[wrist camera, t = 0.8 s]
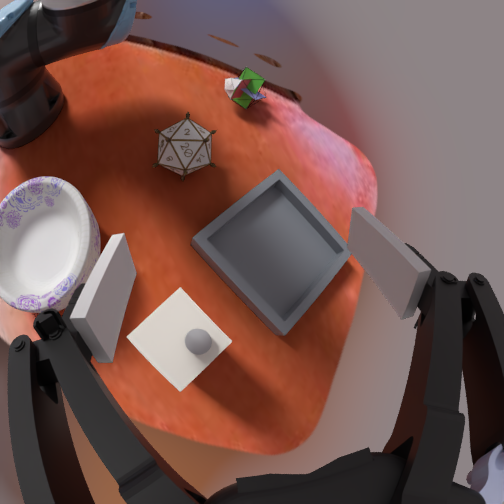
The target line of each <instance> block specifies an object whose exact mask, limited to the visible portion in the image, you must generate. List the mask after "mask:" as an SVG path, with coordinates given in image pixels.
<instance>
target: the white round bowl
mask: <svg viewBox="0 0 504 504" xmlns="http://www.w3.org/2000/svg"><path fill="white" fill-rule="evenodd" d="M100 243H101V242H100V232H99V226H98V223H97V221H96V219H95V217H94V215H93V213H92V211H91V209H90V207H89V206H88V204H87V202H86V201H85V199H84V198H83V196H82V195H81V193H80V192H79V191H78V190H77V189H76V188H75V187H74V186H73V185H71V184H70V183H68V182H67V181H65V180H62V179H60V178H57V177H51V176H43V177H37V178H33V179H30V180H28V181H26V182H24V183H22V184H20V185H19V186H17V187H16V188H15V189H14V190H12V191H11V192H10V193H9V194H8V195H7V196H6V197H5V198H4V200H3V201H2V202H1V204H0V297H1V298H2V299H3V300H4V301H5V302H6V303H7V304H9V305H10V306H12V307H14V308H16V309H18V310H21V311H25V312H33V313H41V312H42V311H44V310H46V309H50V308H53V309H56V310H57V311H60V310H62V309H65V308H66V307H67V305H68V303H69V301H70V299H71V297H72V295H73V293H74V291H75V290H76V289H77V288H78V287H79V285H80V284H82V283H86V282H87V280H88V278H89V276H90V274H91V272H92V270H93V269H94V267H95V265H96V263H97V261H98V259H99V257H100Z"/></svg>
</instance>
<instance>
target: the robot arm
mask: <svg viewBox="0 0 504 504" xmlns="http://www.w3.org/2000/svg"><path fill="white" fill-rule="evenodd" d="M136 4H137V0H38V1H36V2H33V0H15V1H13V2H12V3H10V4H8V5H7V6H5V7H4V8H2V9H1V10H0V146H2V147H4V148H16V147H20V146H22V145H25V144H27V143H29V142H31V141H32V140H34V139H35V138H37V137H38V136H39V135H41V134H42V133H43V132H44V131H45V130H46V129H47V128H48V127H49V126H50V125H51V124H52V123H53V122H54V121H55V119H56V118H57V116H58V115H59V113H60V111H61V109H62V106H63V103H64V96H63V92H62V89H61V86H60V84H59V83H58V82H57V81H56V80H55V78H54V77H53V76H52V75H51V74H50V73H49V71H48V70H47V69H46V67H45V65H48V64H50V63H53V62H56V61H59V60H62V59H65V58H68V57H72V56H75V55H79V54H82V53H86V52H90V51H94V50H99V49H103V48H105V47H107V46H111V45H114V44H118V43H121V42H122V41H124V40H125V39H126V38H127V37H128V35H129V33H130V31H131V28H132V25H133V21H134V17H135V12H136ZM347 248H348V249H349V251H350V252H351V253H352V254H353V256H354V257H355V258H356V260H357V261H358V262H359V263H360V265H361V266H362V267H363V268H364V270H365V271H366V272H367V274H368V275H369V276H370V278H371V279H372V280H373V281H374V283H375V284H376V285H377V287H378V288H379V289H380V291H381V292H382V294H383V295H384V296H385V298H386V299H387V300H388V302H389V303H390V304H391V306H392V307H393V309H394V310H395V311H396V313H397V314H398V316H399V317H400V319H406V318H409V317H412V316H413V315H414V313H415V311H416V308H417V307H418V308H419V309H420V310H421V313H420V315H419V318H418V320H417V322H416V324H415V326H414V328H415V329H416V327H417V333H416V339H415V346H414V351H413V356H412V362H411V366H410V371H409V376H408V380H407V384H406V388H405V393H404V396H403V400H402V404H401V407H400V411H399V414H398V417H397V421H396V424H395V427H394V430H393V433H392V435H391V437H390V439H389V441H388V442H387V444H386V446H385V447H384V449H383V451H382V452H370V449H369V448H365V449H363V450H360V451H357V452H354V453H351V454H348V455H345V456H342V457H339V458H337V459H336V460H334V461H332V462H330V463H329V464H327V465H325V466H323V467H321V468H319V469H317V470H315V471H313V472H311V473H309V474H266V475H259V476H252V477H243V478H236V481H237V483H235V484H232V485H230V486H227V487H225V488H223V489H221V490H220V491H218V492H216V493H215V494H213V495H212V496H211V497H210V498H209V499H207V498H205V497H204V496H203V495H202V494H201V493H199V492H198V491H197V490H196V489H195V488H194V487H193V486H191V485H190V484H189V483H188V482H186V481H185V480H184V479H183V478H182V477H181V476H180V475H179V474H178V473H177V472H176V471H174V469H173V468H172V467H171V466H170V465H169V464H168V463H167V462H166V461H165V460H164V459H163V458H162V457H161V456H160V455H159V453H158V452H157V451H156V450H155V449H154V448H153V447H152V446H151V444H150V443H149V442H148V441H147V440H146V439H145V437H144V436H143V435H142V434H141V433H140V431H139V430H138V429H137V428H136V426H135V425H134V424H133V423H132V421H131V420H130V419H129V418H128V416H127V415H126V414H125V412H124V411H123V410H122V408H121V407H120V405H119V404H118V403H117V401H116V400H115V398H114V397H113V395H112V394H111V393H110V391H109V390H108V388H107V387H106V385H105V384H104V382H103V380H102V379H101V377H100V376H99V374H98V373H97V371H96V369H95V368H94V366H93V365H92V363H91V362H90V361H91V357H92V355H93V356H94V358H95V359H96V361H97V362H98V363H113V358H114V354H115V349H116V345H117V341H118V337H119V333H120V329H121V325H122V321H123V318H124V314H125V310H126V307H127V303H128V300H129V297H130V293H131V290H132V287H133V283H134V280H135V277H136V274H137V273H136V270H135V267H134V264H133V261H132V257H131V254H130V251H129V248H128V244H127V241H126V237H125V234H124V233H121V234H115V235H112V236H111V238H110V240H109V241H108V243H107V245H106V247H105V248H104V250H103V252H102V254H101V256H100V257H99V259H98V261H97V263H96V265H95V267H94V269H93V270H92V272H91V274H90V276H89V278H88V280H87V282H86V283H82V284H80V285H79V287H78V288H77V289H76V290H75V291H74V293H73V295H72V297H71V299H70V301H69V303H68V305H67V307H66V309H65V311H64V313H63V315H62V317H61V316H60V314H59V312H58V311H57V310H56V309H53V308H50V309H46V310H44V311H42V312H41V313H40V314H39V315H38V316H37V317H36V318H35V320H34V323H33V327H34V329H35V330H36V332H37V333H38V335H39V336H40V337H41V339H40V340H37V341H34V342H32V341H31V339H30V338H29V337H28V336H27V335H20V336H18V337H16V338H15V339H14V340H13V342H12V343H11V345H10V348H9V359H8V413H9V425H10V435H11V443H12V450H13V456H14V462H15V467H16V472H17V476H18V481H19V485H20V489H21V492H22V496H23V500H24V503H25V504H95V503H94V500H93V498H92V496H91V493H90V491H89V488H88V486H87V483H86V481H85V478H84V475H83V473H82V470H81V467H80V464H79V461H78V458H77V455H76V451H75V448H74V445H73V441H72V438H71V434H70V430H69V426H68V422H67V418H66V413H65V408H64V403H63V398H62V392H61V388H62V390H63V393H64V395H65V397H66V399H67V401H68V403H69V405H70V407H71V409H72V411H73V413H74V415H75V417H76V419H77V420H78V422H79V424H80V426H81V428H82V429H83V431H84V433H85V435H86V436H87V438H88V440H89V442H90V443H91V445H92V446H93V448H94V450H95V451H96V453H97V454H98V456H99V457H100V459H101V460H102V462H103V463H104V465H105V466H106V468H107V469H108V470H109V472H110V473H111V475H112V476H113V477H114V479H115V480H116V481H117V483H118V485H119V492H120V495H121V496H122V498H123V499H124V500H125V502H126V503H127V504H501V503H502V502H504V314H503V311H502V309H501V307H500V305H499V302H498V301H497V298H496V296H495V294H494V292H493V290H492V288H491V286H490V284H489V282H488V281H487V279H486V278H485V277H484V276H483V275H481V274H478V273H471V274H470V275H469V277H468V279H467V281H458V279H457V278H456V277H455V276H454V275H452V274H451V273H448V272H445V271H440V272H438V271H437V270H436V269H435V268H434V267H433V266H432V265H431V264H430V263H429V262H428V261H427V260H426V259H425V258H424V257H423V256H422V255H421V254H419V252H418V251H417V250H416V249H415V248H414V247H412V246H410V245H408V244H407V243H403V242H402V241H401V240H400V239H399V238H398V237H397V236H396V235H395V234H394V233H392V232H391V231H390V230H389V229H388V228H387V227H386V226H385V225H383V224H382V223H381V222H380V221H379V220H378V219H377V218H375V217H374V216H373V215H372V214H371V213H370V212H368V211H367V210H366V209H365V208H364V207H356V208H352V214H351V222H350V230H349V238H348V245H347ZM475 314H476V319H474V315H475ZM462 371H463V377H464V383H465V390H466V397H467V405H468V416H469V430H470V447H471V455H472V462H473V466H474V467H473V469H472V471H470V472H469V473H468V475H467V479H466V480H467V483H468V484H470V485H471V488H467V487H465V486H462V485H460V484H457V483H455V482H453V477H454V474H455V470H456V465H457V461H458V457H459V452H460V448H461V443H462V438H463V431H464V425H465V416H464V414H462V413H459V411H458V409H459V400H460V390H461V378H462Z"/></svg>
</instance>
